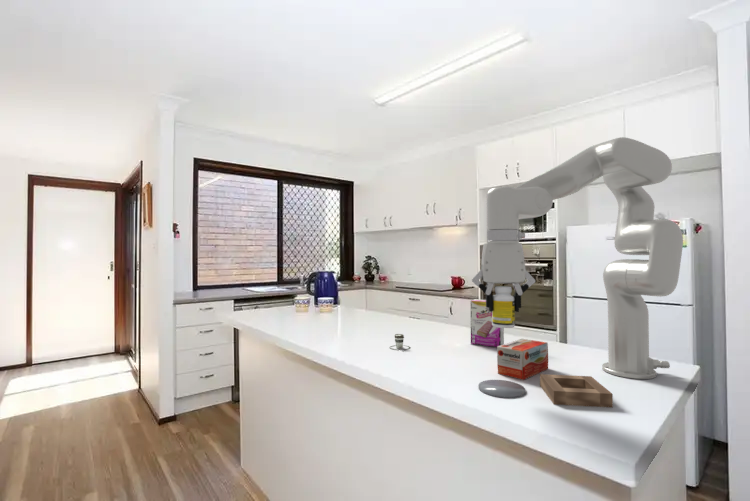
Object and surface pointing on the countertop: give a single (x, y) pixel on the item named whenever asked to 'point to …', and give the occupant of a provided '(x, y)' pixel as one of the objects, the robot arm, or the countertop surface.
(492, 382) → the coaster
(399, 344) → the sink strainer
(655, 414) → the countertop surface
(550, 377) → the pocket holder
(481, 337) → the candy bar box
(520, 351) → the medicine box
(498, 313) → the supplement bottle
